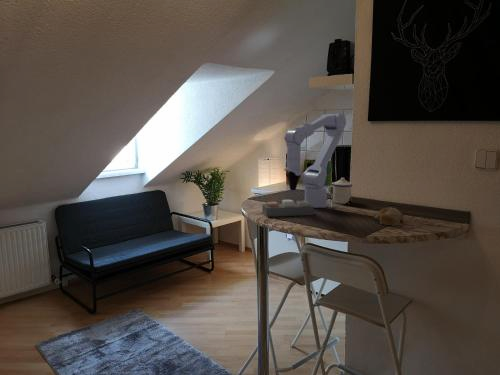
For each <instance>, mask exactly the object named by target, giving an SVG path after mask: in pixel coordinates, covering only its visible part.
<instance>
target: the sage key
mask: <svg viewBox="0 0 500 375" xmlns="http://www.w3.org/2000/svg"><path fill="white" fill-rule="evenodd" d="M296 203H297V205H298V206H309V202H307V201H305V200H296Z"/></svg>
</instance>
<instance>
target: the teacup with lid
mask: <svg viewBox="0 0 500 375" xmlns="http://www.w3.org/2000/svg"><path fill="white" fill-rule="evenodd" d="M351 183H352V182H349V181H348V180H346V179H345V177H341V178H340V179H339V180H337V181H334V182H333V183H332V185H330V186H328V188H327V190H328V191H327V192H328V194H329V195H330V196H331V197H332V203H335V204H339V205H340V204H341V205H346V203H347V202H348V201H349V199H350V197H351V198H352V192H351V188H352V189H353V187H352V186H353V184H351ZM331 189H332V191H331Z"/></svg>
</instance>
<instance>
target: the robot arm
mask: <svg viewBox="0 0 500 375" xmlns="http://www.w3.org/2000/svg"><path fill="white" fill-rule="evenodd" d="M346 126H347V119H346V115H345V114H344V113H324V114H322V115H321V116H320V117H318V118H317V119H316V120H315V119H314V121H312V122H311V123H310V122H302V124H301V125H300V126H296V127H294V129H289V130H287V132H286V133H285V136H284V142H285V144H286V145H285V146H286V147H287V148H286V149H287V150H286V167H285V168H284V169H283V171H285V172H287V173H285V176H286V177H287V180H288V185H289V190H291V191H296V190H297V188H298V187H297V186H298V184H299V180H300V178H301V182H302V183H303V186H304V201H307V202H309V204H311V205H312V206H314V209H315V208H316V209H317V208H327V207H328V206H327V199H328V196H327V194H328V191H327V188H326V187H325V186H324V185H325V183H326V179H327V176H328V173H327V171H326V170H325V169H326V168H327V166H328V164H329V161H330V160H331V158H332V156H333V154H334V152H335V149H336V148H337V146H338V145H339V141H340V140H341V138H342V133H343V132H344V130H345V128H346ZM320 128H324V131H325V133H326V134H327V138H326V139H325V142H324V143H323V145H322V147H321V150H319V153H318V155H317V157H316V159H315V161H314V162H313V164H312V165H310V166H308V167H307V168H306V170H305V171H304V172H303V173H302V169H301V156H302V155H301V154H302V152H301V149H302V143H303V142H304V140H305V139H307V138H309V137H310V136H312V135H313V134H314V133H315V131H316V130H318V129H320ZM288 172H289V173H288Z"/></svg>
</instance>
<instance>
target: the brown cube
mask: <svg viewBox="0 0 500 375" xmlns="http://www.w3.org/2000/svg"><path fill="white" fill-rule="evenodd" d="M266 204H267V206H268V207H278V204H279V203H278V201H266Z"/></svg>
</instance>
